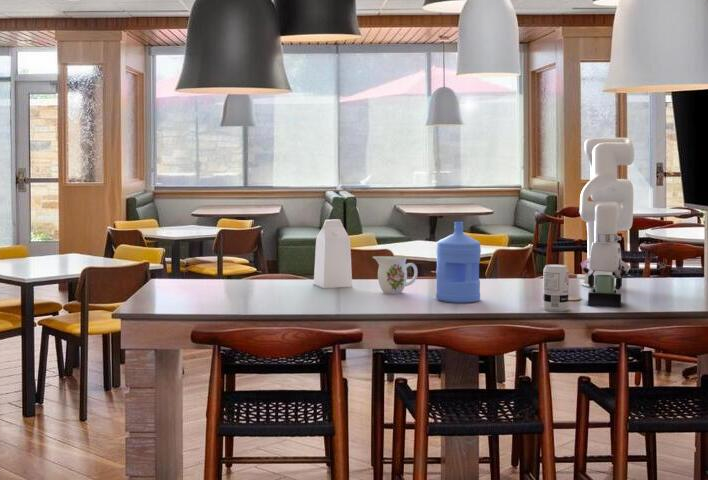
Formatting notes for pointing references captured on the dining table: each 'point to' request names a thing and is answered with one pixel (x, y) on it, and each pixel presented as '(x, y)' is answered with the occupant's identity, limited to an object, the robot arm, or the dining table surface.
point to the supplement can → (555, 287)
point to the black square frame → (604, 298)
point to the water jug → (458, 267)
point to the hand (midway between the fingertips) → (604, 287)
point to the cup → (604, 283)
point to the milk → (333, 256)
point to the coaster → (573, 298)
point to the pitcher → (393, 273)
